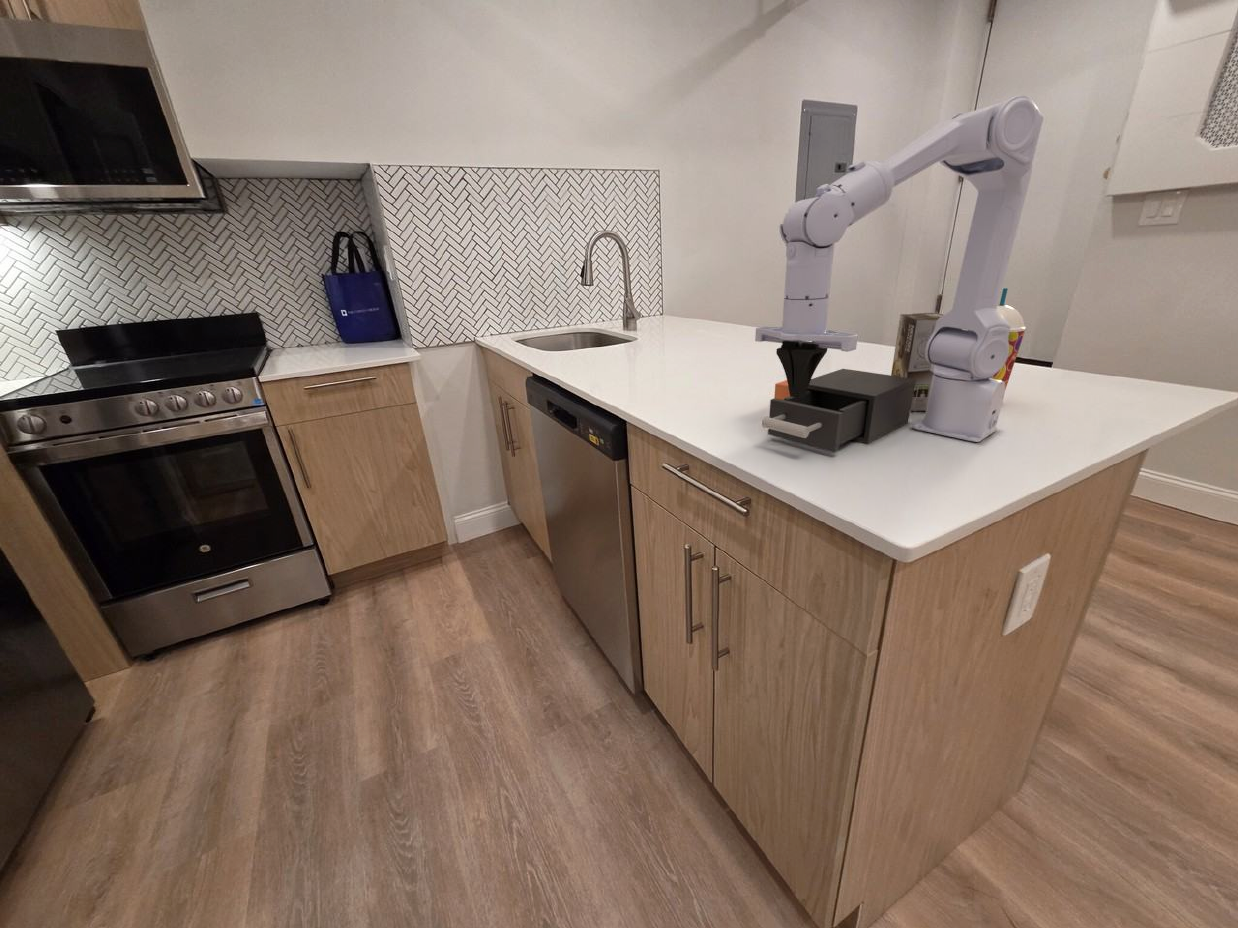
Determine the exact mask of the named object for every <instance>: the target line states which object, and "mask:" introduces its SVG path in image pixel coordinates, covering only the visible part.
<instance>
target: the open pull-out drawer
mask: <svg viewBox="0 0 1238 928" xmlns="http://www.w3.org/2000/svg"><path fill="white" fill-rule="evenodd" d="M769 401H770V402H769V403H770V404H769V416H764V417H763V419H762V420H761V427H762V428H765V429H768V431H767V434H768V435H769V436H772V437H776V438H780V439H784V440H786V441H791V442H795V443H798V444H800V445H805V446H809V447H812V448H816V449H819V450H823V451H827V452H830V453H837V452H839V450H840V445H842V444H845V443H846V442H848V441H852V440H851V439H853V438H855V437H857V436H859V435H861V434H863V433H864V432H865V425H866V419H867V412H868V405H869V400H865V399H859V398H854V397H849V396H843V395H838V394H832V393H827V392H821V391H816V390H807V392H806V395H805V396H802V397H800V398H795V397H787V398H784V400H781V399H776V398H772V399H770V400H769Z"/></svg>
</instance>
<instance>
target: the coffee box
mask: <svg viewBox="0 0 1238 928" xmlns="http://www.w3.org/2000/svg"><path fill="white" fill-rule="evenodd" d="M943 315H944V314H942V313H939V312H921V313H920V312H919V313H905V314H903V313H901V314H899V320H898V326H897V327H898V328H897V333H896V341H895V345H894V346H895V347H894V354H893V360H892V366H891V374H890V375H891V376H898V377H905V378H912V379H916V382H915V388H914V393H913V399H912V404H911V410H910V412H912V411H913V412H914V411H916V412H926V407H927V402H928V397H929V392H930V387H931V382H932V376H933V372H932V371H930V368H931V365H930V364H929V363H928V362H927V360H926V357H925V348H926V345H927V342H928V340H929V339H930V337H931V336H932V334H933V332H934V329H935V325H936V321H937V320H938V319H939V318H941V317H942V316H943Z"/></svg>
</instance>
